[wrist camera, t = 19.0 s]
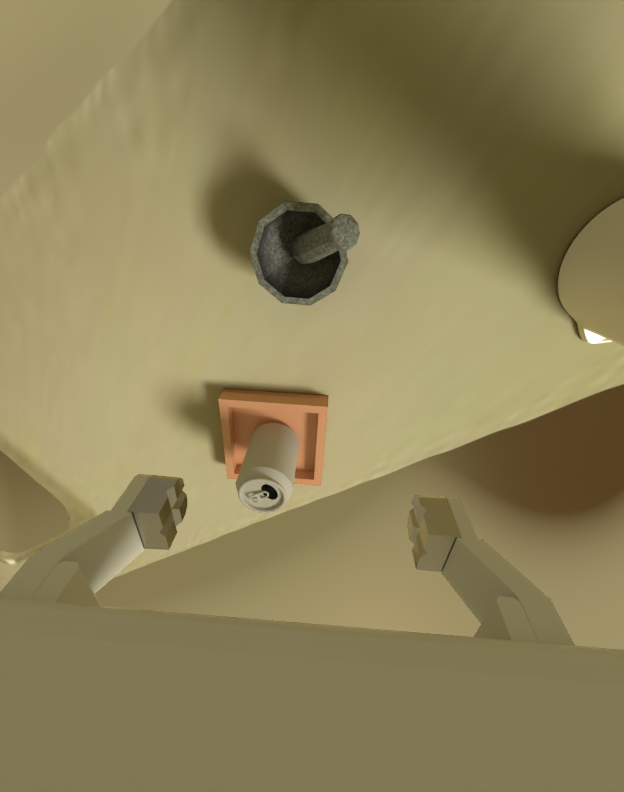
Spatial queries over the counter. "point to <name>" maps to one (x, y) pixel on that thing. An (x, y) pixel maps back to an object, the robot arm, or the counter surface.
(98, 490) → the counter surface
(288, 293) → the mortar and pestle
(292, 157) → the counter surface
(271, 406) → the dish
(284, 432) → the can
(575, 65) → the counter surface
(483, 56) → the counter surface
